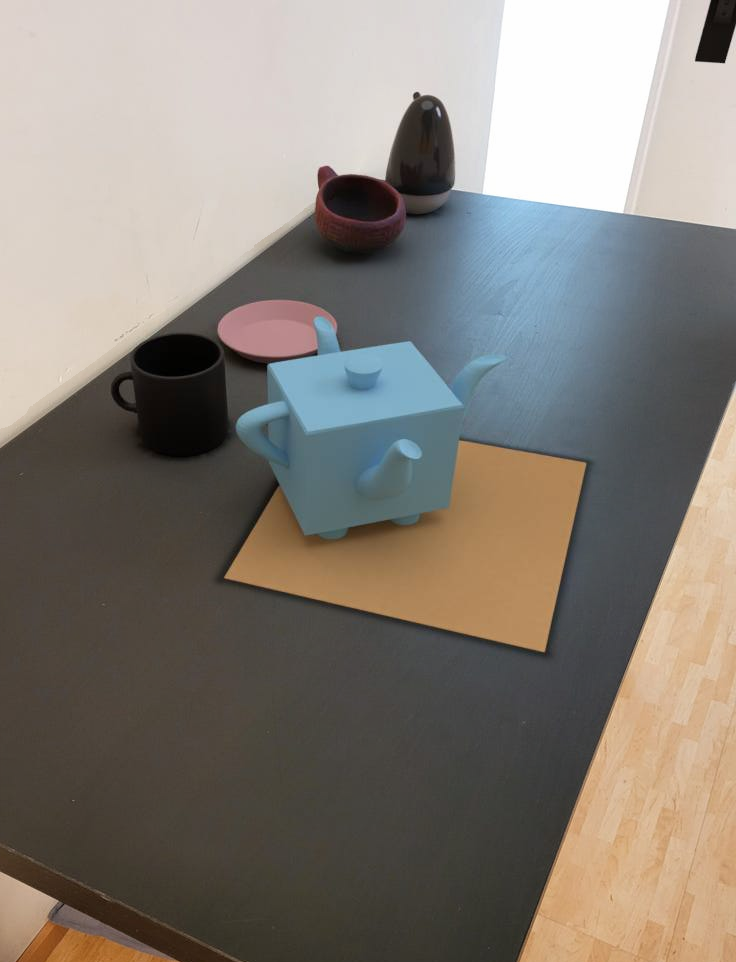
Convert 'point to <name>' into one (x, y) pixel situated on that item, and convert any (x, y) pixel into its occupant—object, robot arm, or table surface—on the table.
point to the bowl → (357, 211)
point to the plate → (273, 330)
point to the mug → (177, 393)
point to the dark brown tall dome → (423, 156)
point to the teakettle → (361, 432)
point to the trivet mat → (439, 551)
